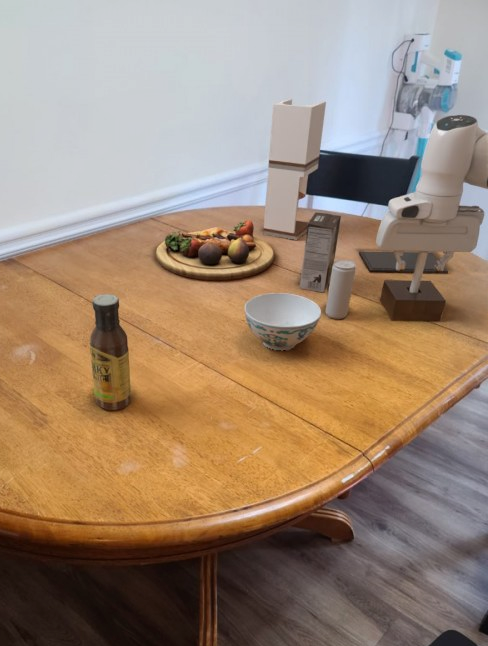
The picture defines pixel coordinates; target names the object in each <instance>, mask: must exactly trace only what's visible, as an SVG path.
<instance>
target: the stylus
mask: <svg viewBox="0 0 488 646" xmlns="http://www.w3.org/2000/svg"><path fill="white" fill-rule="evenodd" d="M418 252H419V254H418V258H417V262H416V266H415V270H414V273H412V274H413V275H412V279H411V281H412V282H411V286H410V290H409V292H410V293H418V290H419V286H420V282H421V281H422V277H423V274H424V273H423V270H424V266H425V262H426V259H427V255H428V252H420V251H418Z"/></svg>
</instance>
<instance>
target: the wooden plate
mask: <svg viewBox="0 0 488 646" xmlns="http://www.w3.org/2000/svg"><path fill="white" fill-rule="evenodd" d="M233 228H234V229H233V230H232V231H229V230H227V229H224V228H222V227H211V228H207V229H203V230H200V231H199V230H198V231H191V232H190V231H189V232H185V233H181V231H182V230H181V231H180V230H179V231H178V232H175V231H172V232H169V233H168V234H166V236H165V238H164V241H162V242H161V243H160V244H159V245H158V246H157V248H156V251H155V258H156V260H157V262H158V263H159V265H161V266H162V267H163V268H164V269H166V270H167V271H169V272H171V273H173V274H176V275H179V276H181V277H186V278H192V279H197V280H204V281H205V280H206V281H226V280H235V279H241V278H246V277H250V276H254V275H256V274H259V273H261V272H263V271H265V270H267V269H268V268H269V267H270V266H271V265H272V264H273V262H274V259H275V253H274V249H273V248H272V246H270V244H268V243H267V242H266V241H264V240H263V239H261V238H258V237H256V236H254V229H255V227H254V223H253V221H252V220H249V219H247V220H246V219H245V220H244V222H243V221H240V222H239V223H237V226H233Z"/></svg>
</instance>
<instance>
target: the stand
mask: <svg viewBox="0 0 488 646" xmlns="http://www.w3.org/2000/svg"><path fill="white" fill-rule="evenodd" d="M411 282H412V280H410V279H409V280H404V279H403V280H401V279H398V280H397V279H384V280H383V284H382V288H381V292H380V297H379V301H380V303H381V304H382V306H383V308H384V311H385V312H386V314H387V315H388V317H389V319H390V321H391V322H440V323H441V319H442V317H443V314H444V309H445V306H446V302H447V299H446V298H444V296H443V294H442V293H441V292H440V291H439V290H438V288H437V287H436V285H434V283H433V282H432V281H431V280H421V282H420V286H419V290H418V293H410V292H409V290H410V286H411Z"/></svg>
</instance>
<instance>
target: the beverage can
mask: <svg viewBox="0 0 488 646" xmlns="http://www.w3.org/2000/svg"><path fill="white" fill-rule="evenodd" d="M356 266H357V265H356V263H355V262H353V261H351V260H347V259H339V260H334V265H333V267H332V273H331V279H330V282H329V285H328V286H329V287H328V294H327V300H326V305H325V306H326V307H325V314H326V316H328V317H329V318H330V319H334V320H342V319H344V318H346V317H347V316H348V313H349V307H350V303H351V302H350V301H351V296H352V292H353V291H352V290H353V287H354V286H353V285H354V280H355V276H356V275H355V274H356V269H357V268H356Z"/></svg>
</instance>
